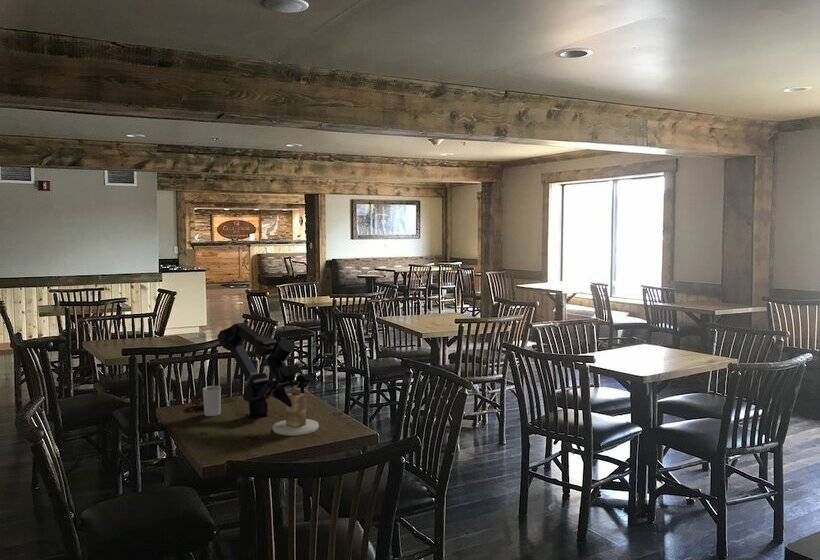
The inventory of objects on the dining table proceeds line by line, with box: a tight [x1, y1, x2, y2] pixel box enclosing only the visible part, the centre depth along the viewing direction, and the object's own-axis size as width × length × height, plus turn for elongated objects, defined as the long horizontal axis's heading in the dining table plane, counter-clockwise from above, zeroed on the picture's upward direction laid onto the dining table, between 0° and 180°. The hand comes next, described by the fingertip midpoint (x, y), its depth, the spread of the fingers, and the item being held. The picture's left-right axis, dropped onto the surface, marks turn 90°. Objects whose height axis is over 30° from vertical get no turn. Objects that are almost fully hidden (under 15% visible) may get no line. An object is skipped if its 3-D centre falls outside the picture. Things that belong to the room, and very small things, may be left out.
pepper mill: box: [285, 387, 307, 428], centre depth 225 cm, size 5×5×13 cm
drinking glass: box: [202, 385, 222, 417], centre depth 243 cm, size 7×7×10 cm
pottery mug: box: [191, 390, 203, 406], centre depth 254 cm, size 12×10×8 cm
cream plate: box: [272, 418, 320, 437], centre depth 225 cm, size 16×16×1 cm
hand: (297, 404), depth 224 cm, fingers open, 6 cm apart
